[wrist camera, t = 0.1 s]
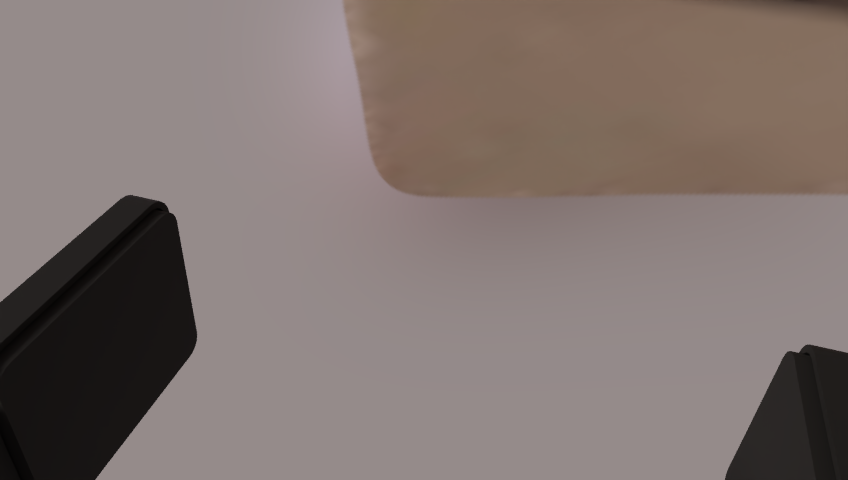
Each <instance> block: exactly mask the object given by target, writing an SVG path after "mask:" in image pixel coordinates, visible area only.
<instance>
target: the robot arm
mask: <svg viewBox="0 0 848 480" xmlns="http://www.w3.org/2000/svg"><path fill="white" fill-rule="evenodd" d="M196 341H197V331H196V325H195V320H194V314H193V308H192V303H191V297H190V292H189V286H188V280H187V275H186V270H185V264H184V259H183V253H182V248H181V242H180V236H179V231H178V225H177V220H176V217H175V216H174V215H173V214H172V213H169V210H168V208H167V206H166V205H165V203H162V202H160V201H155V200H151V199H146V198H142V197H138V196H133V195H128V196H125V197H124V198H122V199H120V200H119V201H118V202H117V203H116V204H115V205H113V206H112V207H111V208H110V209H109V210H108V211H106V212H105V213H104V214H103V215H102V216H100V217H99V218H98V219H97V220H96V221H95V222H93V223H92V224H91V225H90V226H89V227H88V228H86V229H85V230H84V231H83V232H82V233H81V234H79V235H78V236H77V237H76V238H75V239H74V240H72V241H71V242H70V243H69V244H68V245H67V246H65V248H63V249H62V250H61V251H60V252H59V253H57V254H56V255H55V256H54V257H53V258H52V259H50V260H49V261H48V262H47V263H46V264H45V265H43V266H42V267H41V268H40V269H39V270H38V271H36V272H35V273H34V274H33V275H32V276H31V277H29V278H28V279H27V280H26V281H25V282H24V283H23V284H21V285H20V286H19V287H18V288H17V289H15V290H14V291H13V292H12V293H11V294H10V295H9V296H7V297H6V298H5V299H4V300H3V301H1V302H0V480H95V479H96V478H97V476H98V475H99V474H100V473H101V471H102V470H103V469H104V467H105V466H106V465H107V463H108V462H109V461H110V459H111V458H112V457H113V456H114V454H115V453H116V451H117V450H118V449H119V448H120V446H121V445H122V444H123V443H124V441H125V440H126V439H127V437H128V436H129V435H130V433H131V432H132V431H133V429H134V428H135V427H136V426H137V424H138V423H139V422H140V421H141V419H142V418H143V417H144V415H145V414H146V413H147V411H148V410H149V409H150V408H151V406H152V405H153V404H154V402H155V401H156V400H157V398H158V397H159V396H160V394H161V393H162V392H163V391H164V389H165V388H166V387H167V385H168V384H169V383H170V381H171V380H172V379H173V378H174V376H175V375H176V374H177V372H178V371H179V370H180V368H181V367H182V366H183V365H184V363H185V362H186V361H187V359H188V358H189V357H190V355H191V354H192V352H193V350H194V348H195V344H196ZM725 480H848V353H845V352H841V351H836V350H832V349H827V348H823V347H818V346H814V345H805V346H804V347H803V348H802V349H801V351H800V352H799V353H796V352H792V351H789V352H787V353H786V354H785V356H784V357H783V359H782V361H781V363H780V365H779V367H778V369H777V371H776V373H775V375H774V378H773V379H772V382H771V383H770V385H769V387H768V389H767V391H766V394H765V396H764V398H763V400H762V402H761V404H760V406H759V408H758V410H757V412H756V414H755V416H754V418H753V420H752V422H751V424H750V426H749V428H748V430H747V432H746V434H745V436H744V438H743V440H742V442H741V444H740V446H739V448H738V450H737V452H736V454H735V456H734V458H733V460H732V462H731V464H730V466H729V468H728V471H727V474H726V478H725Z"/></svg>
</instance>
